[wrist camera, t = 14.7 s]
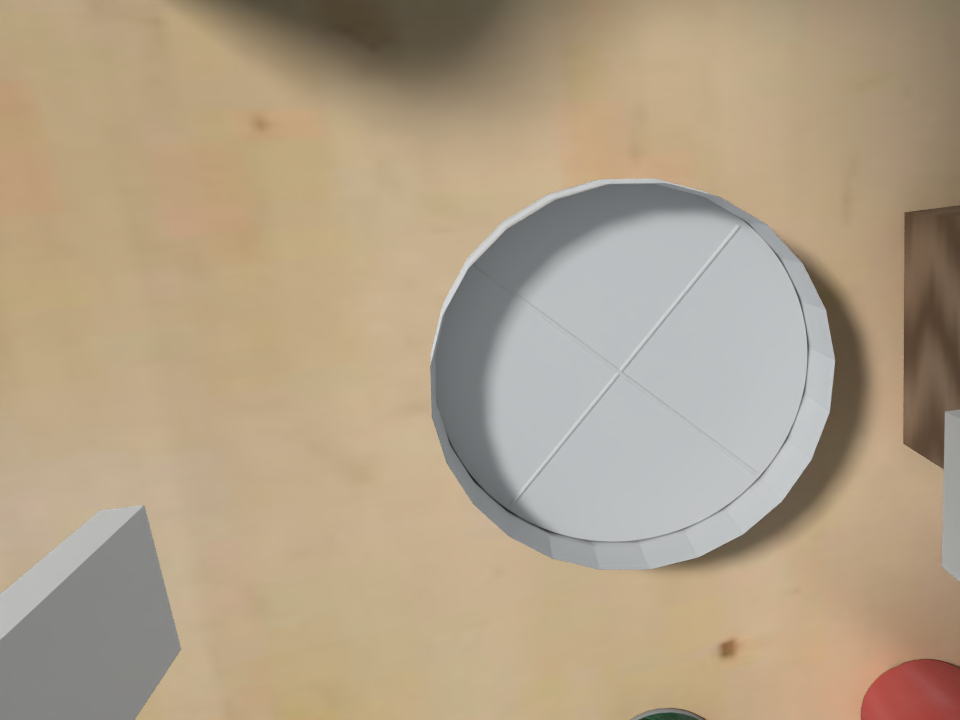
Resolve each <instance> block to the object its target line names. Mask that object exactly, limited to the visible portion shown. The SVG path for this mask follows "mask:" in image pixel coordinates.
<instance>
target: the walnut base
mask: <svg viewBox="0 0 960 720" xmlns="http://www.w3.org/2000/svg"><path fill="white" fill-rule="evenodd" d="M953 410H960V206H952V207H944V208H936V209H928V210H921V211H913V212H905V273H904V444H905V445H907V446H908V447H910V448H911V449H913V450H914V451H916V452H918V453H919V454H921V455H922V456H924V457H926V458H927V459H929V460H930V461H932V462H933V463H935V464H937V465H938V466H940V467H941V468H943V469H944V433H945V411H953Z"/></svg>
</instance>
